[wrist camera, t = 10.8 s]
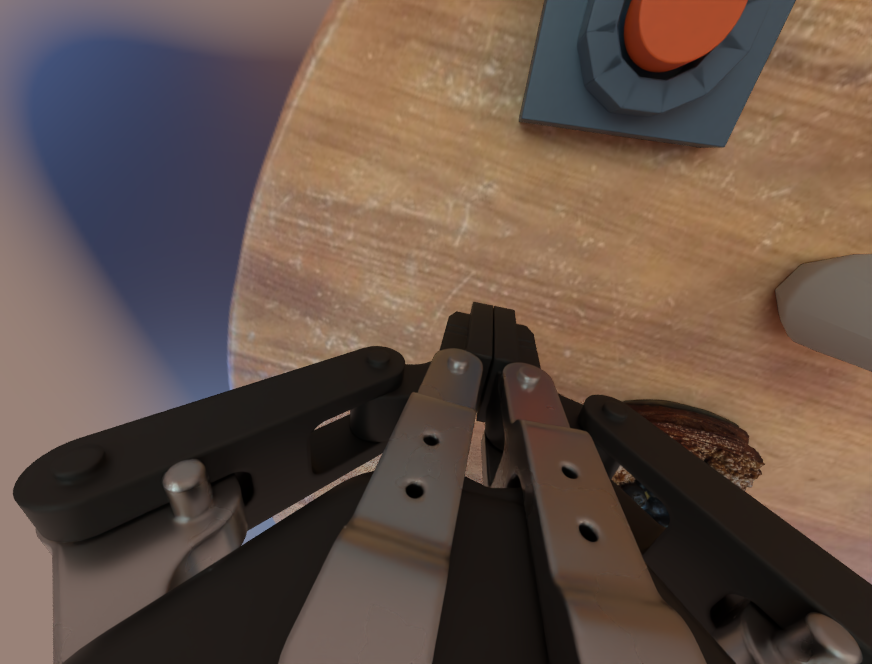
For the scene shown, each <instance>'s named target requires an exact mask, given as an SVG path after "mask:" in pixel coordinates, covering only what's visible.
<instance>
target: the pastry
mask: <svg viewBox="0 0 872 664" xmlns="http://www.w3.org/2000/svg"><path fill="white" fill-rule="evenodd" d="M623 403H625V404H626V405H628V406H629V407H631V408H632V409H633V410H635V411H636V412H637V413H639V414H640V415H642V416H643V417H644V418H646V419H647V420H648V421H650V422H651V423H652V424H654V425H655V426H657V427H658V428H659V429H661V430H662V431H663V432H665V433H666V434H667V435H669V436H670V437H671V438H673V439H674V440H676V441H677V442H678V443H680V444H681V445H682V446H684V447H685V448H686V449H688V450H689V451H691V452H692V453H693V454H695V455H696V456H697V457H699V458H700V459H701V460H703V461H704V462H705V463H707V464H708V465H710V466H711V467H712V468H714V469H715V470H716V471H718V472H719V473H720V474H722V475H723V476H724V477H726V478H727V479H729V480H730V481H731V482H733V483H734V484H735V485H737V486H738V487H739V488H741V489H742V490H744V491H745V490H746V487H752V485H753V481H754V480H755V479H757V478H758V476H759V475H762V472H761V470H760V469H759V468H760V467H762V466H763V465H765V463H763V459H762V458H761V456H760V455H759V453H758V452H757V451H756V450H755V449H754V448H752V447H750V446H749V445H748V441H749V435H748V434H747V432H746V431H744V430H742V429H741V428H739V426H738V425H737V424H735V423H733V422H731V421H729V420H727V419H725V418H723V417H721V416H718V415H716V414H714V413H711V412H709V411H706V410H703V409H699V408H695V407H691V406H688V405H683V404H680V403H675V402H670V401H664V400H633V401H624V402H623ZM612 480H613V481H614V482H615V483H616V484H617V485H618V486H619V487H620V488H621V489H622V490H623V491H624V492H625V493H626V494H628V495H629V496H630V497H631V498H632V499H633V500H634V501H635V502H636V503H637V504H638V505H639V506H640V507H641V508H642V509H643V510H644V511H645V512H646V513H648V514H649V515H650V516H651V517H652V518H653V519H654V520H655V521H656V522H657V523H658V524H660V525H661V526H663V527H665V528H667V526H668V525H669V522H670V517H669V513H668V511H667V509H666V507H665V506H664V504H663V503H662V502H661V501H660V500H659V499H658V498H657V497H656V496H654V495H653V494H652V493H651V492H650V491H649V490H648V489H647V488H645V487H644V486H643V485H642V484H641V483H640V482H639V481H638V480H637V479H635V478H634V477H633V476H632V475H631V474H630V473H629V472H628V471H626V470H625V469H624V468H623V467H622V466H621V465H620V467H619V468H618V470H617V471H616V473H615V474H614V476H613V478H612Z"/></svg>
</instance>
